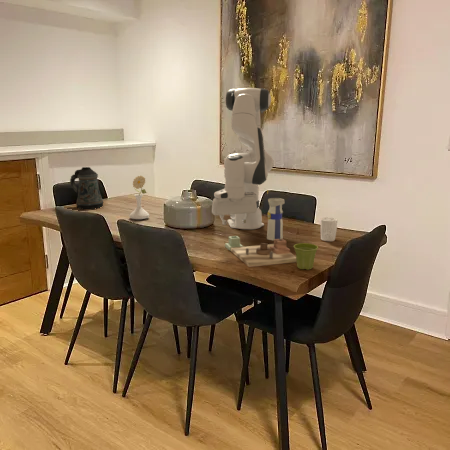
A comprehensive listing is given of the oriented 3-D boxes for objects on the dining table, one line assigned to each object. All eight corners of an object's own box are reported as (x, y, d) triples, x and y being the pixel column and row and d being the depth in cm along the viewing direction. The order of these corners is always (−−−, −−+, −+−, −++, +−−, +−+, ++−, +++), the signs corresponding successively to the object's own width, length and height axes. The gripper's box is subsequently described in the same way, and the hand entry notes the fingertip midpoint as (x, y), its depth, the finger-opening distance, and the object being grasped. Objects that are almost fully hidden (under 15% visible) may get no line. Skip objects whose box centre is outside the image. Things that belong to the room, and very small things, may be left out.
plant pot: (305, 273, 175) (306, 251, 172) (287, 266, 182) (288, 245, 180) (321, 268, 180) (323, 247, 178) (304, 262, 187) (305, 241, 185)
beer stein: (103, 209, 284) (101, 168, 278) (71, 210, 279) (67, 169, 273) (103, 203, 300) (101, 165, 294) (72, 205, 295) (69, 166, 289)
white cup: (338, 238, 222) (339, 218, 219) (333, 242, 215) (334, 222, 213) (322, 236, 226) (323, 216, 223) (317, 240, 219) (318, 219, 217)
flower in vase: (125, 218, 260) (123, 174, 254) (142, 215, 268) (141, 172, 262) (137, 222, 251) (135, 177, 245) (155, 219, 258) (153, 175, 252)
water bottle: (269, 241, 216) (271, 189, 210) (263, 236, 224) (264, 186, 218) (285, 240, 218) (288, 188, 212) (279, 235, 226) (281, 185, 220)
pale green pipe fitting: (225, 246, 208) (225, 236, 206) (238, 245, 210) (238, 234, 208) (229, 250, 202) (229, 239, 201) (243, 249, 204) (243, 238, 203)
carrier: (230, 251, 201) (230, 235, 199) (276, 246, 208) (276, 232, 206) (248, 266, 181) (249, 250, 179) (298, 261, 188) (299, 245, 186)
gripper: (254, 190, 206) (253, 220, 209) (210, 193, 199) (210, 224, 202) (259, 192, 200) (258, 223, 203) (214, 195, 193) (214, 227, 196)
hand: (234, 223), depth 202 cm, fingers open, 8 cm apart
